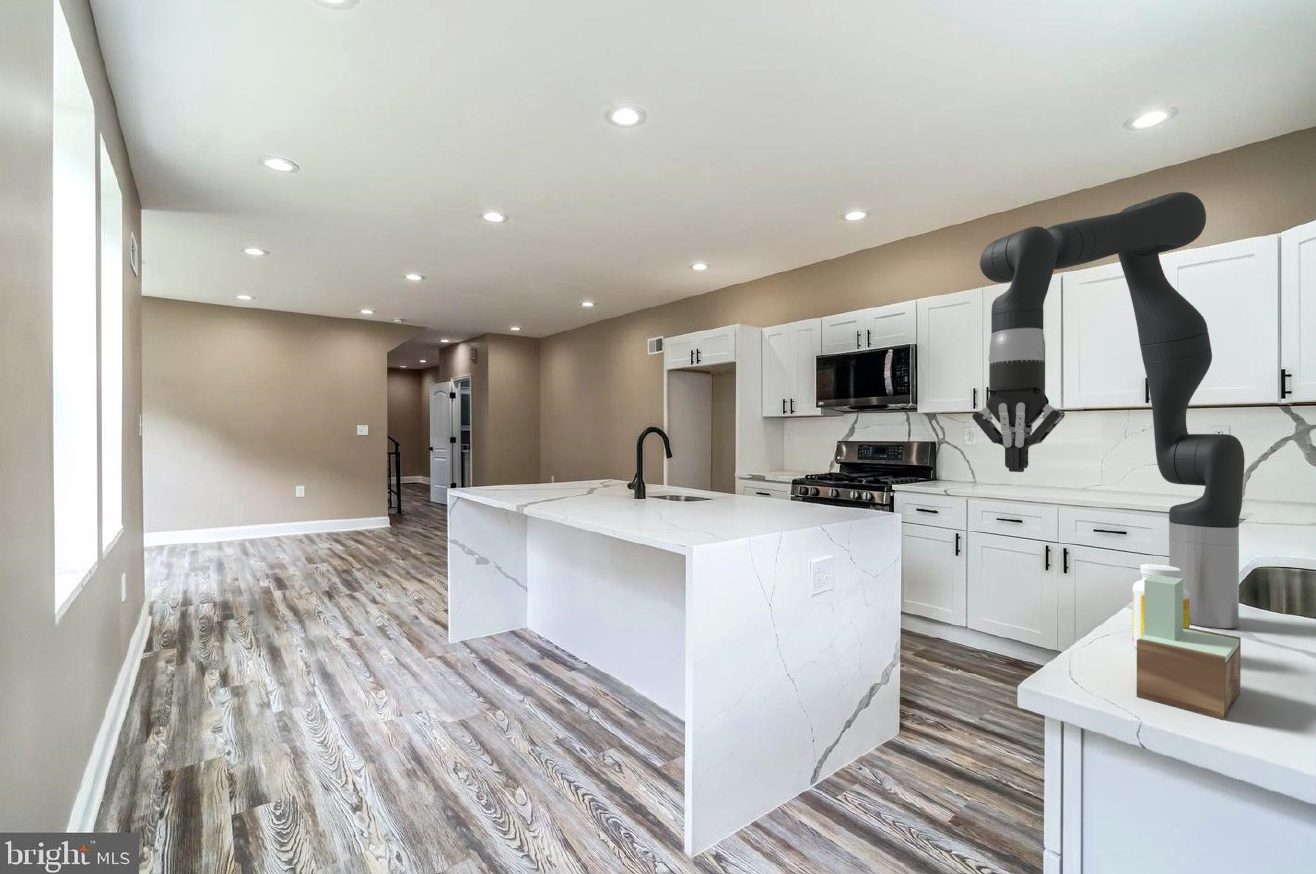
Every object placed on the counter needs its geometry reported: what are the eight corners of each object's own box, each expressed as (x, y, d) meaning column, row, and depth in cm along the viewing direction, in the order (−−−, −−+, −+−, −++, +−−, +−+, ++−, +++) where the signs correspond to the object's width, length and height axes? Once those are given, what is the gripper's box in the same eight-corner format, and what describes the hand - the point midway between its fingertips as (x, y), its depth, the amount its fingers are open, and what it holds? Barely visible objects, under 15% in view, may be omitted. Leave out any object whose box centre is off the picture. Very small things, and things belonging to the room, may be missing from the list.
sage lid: (1157, 629, 82) (1158, 572, 82) (1239, 644, 75) (1239, 583, 75) (1139, 644, 76) (1139, 582, 76) (1226, 662, 69) (1226, 595, 69)
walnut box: (1159, 673, 82) (1159, 622, 82) (1240, 692, 76) (1240, 637, 76) (1136, 696, 75) (1136, 640, 75) (1224, 720, 69) (1224, 658, 69)
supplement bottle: (1200, 661, 87) (1201, 572, 87) (1148, 658, 88) (1148, 570, 88) (1171, 646, 94) (1171, 563, 94) (1123, 643, 95) (1123, 561, 95)
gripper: (1074, 358, 91) (1073, 473, 91) (982, 366, 101) (982, 469, 101) (1057, 354, 86) (1056, 474, 86) (962, 362, 97) (962, 470, 96)
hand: (1016, 471), depth 94 cm, fingers closed
